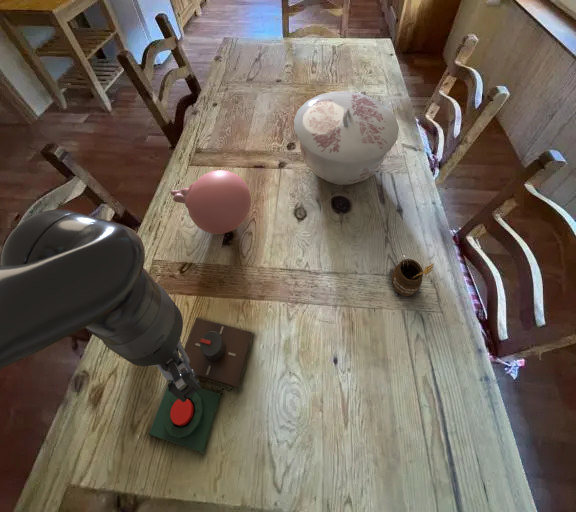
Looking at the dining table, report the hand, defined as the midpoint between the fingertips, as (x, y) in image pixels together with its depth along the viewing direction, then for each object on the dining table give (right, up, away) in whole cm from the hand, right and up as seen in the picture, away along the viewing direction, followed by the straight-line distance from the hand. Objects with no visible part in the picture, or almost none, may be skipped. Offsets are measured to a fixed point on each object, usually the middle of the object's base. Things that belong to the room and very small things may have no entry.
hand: (177, 354), depth 51 cm
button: (-2, -15, +8) cm, 17 cm away
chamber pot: (+33, +24, +51) cm, 65 cm away
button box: (-1, -17, +10) cm, 20 cm away
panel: (+3, -11, +16) cm, 20 cm away
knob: (+3, -9, +14) cm, 17 cm away
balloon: (-2, +11, +39) cm, 40 cm away
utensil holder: (+43, -1, +25) cm, 50 cm away
